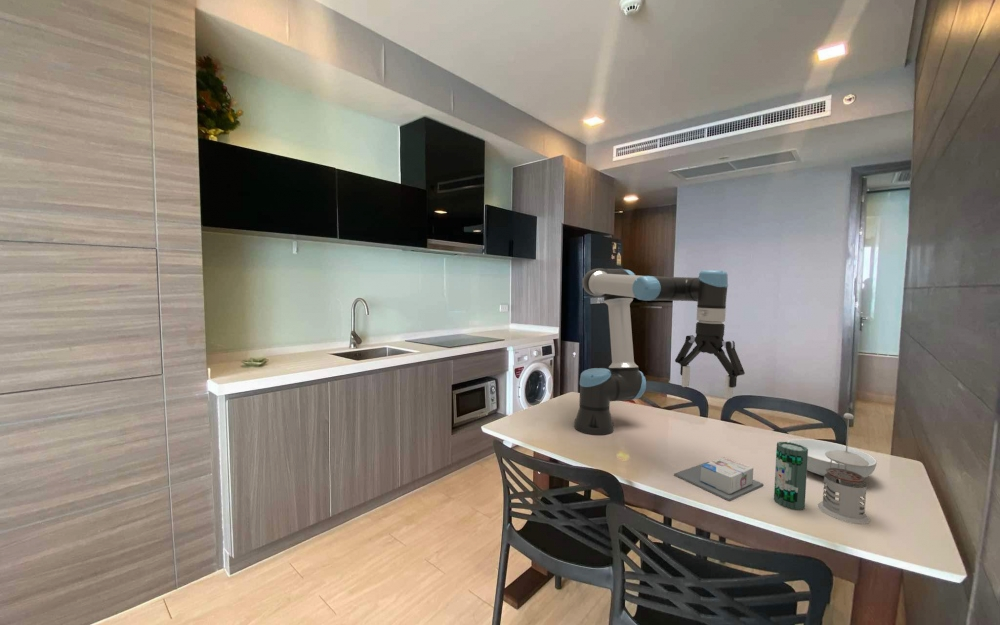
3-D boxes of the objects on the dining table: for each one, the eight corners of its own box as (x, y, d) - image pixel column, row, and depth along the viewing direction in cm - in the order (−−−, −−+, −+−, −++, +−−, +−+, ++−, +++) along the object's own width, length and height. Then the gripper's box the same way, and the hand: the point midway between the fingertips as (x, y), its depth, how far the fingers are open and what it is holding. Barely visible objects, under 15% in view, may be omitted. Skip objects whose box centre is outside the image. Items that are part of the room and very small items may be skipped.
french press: (825, 517, 93) (831, 416, 91) (809, 495, 103) (814, 403, 102) (878, 528, 89) (885, 422, 87) (856, 503, 99) (862, 408, 98)
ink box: (700, 463, 108) (723, 456, 114) (699, 481, 108) (722, 472, 115) (731, 476, 101) (754, 467, 107) (730, 495, 101) (753, 485, 107)
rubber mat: (674, 475, 113) (674, 473, 113) (708, 463, 122) (708, 461, 122) (729, 501, 99) (729, 499, 99) (763, 485, 108) (763, 483, 108)
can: (768, 497, 102) (771, 441, 101) (790, 496, 102) (793, 441, 101) (787, 510, 96) (790, 451, 95) (810, 509, 96) (813, 451, 95)
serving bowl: (862, 467, 121) (864, 446, 120) (886, 497, 103) (888, 472, 102) (781, 452, 131) (782, 433, 131) (790, 477, 113) (791, 454, 113)
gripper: (665, 318, 123) (662, 383, 125) (747, 327, 102) (741, 405, 103) (680, 318, 127) (677, 380, 129) (762, 326, 105) (756, 401, 107)
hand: (705, 391), depth 116 cm, fingers open, 13 cm apart
